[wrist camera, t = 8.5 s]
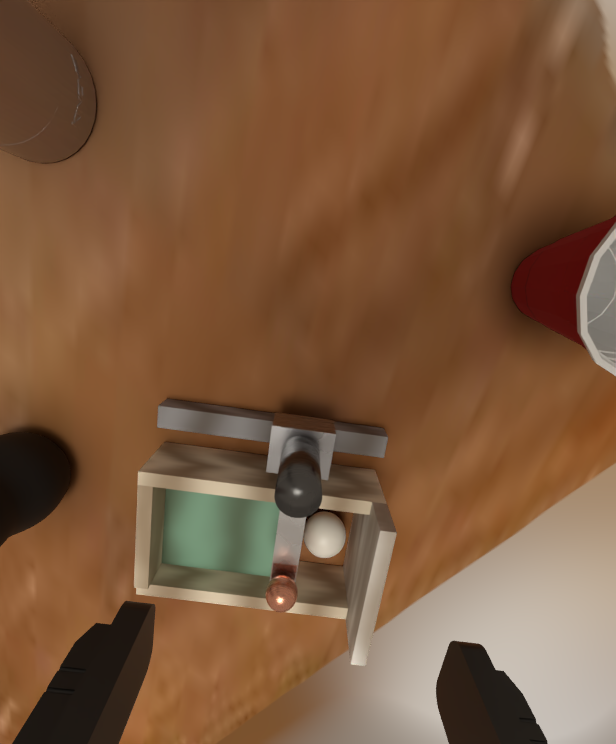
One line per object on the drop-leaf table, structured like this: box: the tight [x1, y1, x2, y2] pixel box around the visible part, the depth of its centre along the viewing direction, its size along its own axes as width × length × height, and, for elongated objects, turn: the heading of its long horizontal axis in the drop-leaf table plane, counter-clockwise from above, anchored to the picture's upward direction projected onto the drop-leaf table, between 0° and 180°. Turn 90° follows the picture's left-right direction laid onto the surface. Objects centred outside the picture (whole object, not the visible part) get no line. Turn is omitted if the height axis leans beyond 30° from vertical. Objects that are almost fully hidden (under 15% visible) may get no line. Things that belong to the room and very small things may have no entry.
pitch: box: [134, 399, 397, 666], centre depth 31 cm, size 20×17×9 cm
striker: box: [265, 412, 336, 612], centre depth 28 cm, size 5×13×9 cm, turn 172°
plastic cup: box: [511, 216, 616, 376], centre depth 25 cm, size 11×11×12 cm
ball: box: [303, 511, 346, 558], centre depth 34 cm, size 4×4×4 cm
